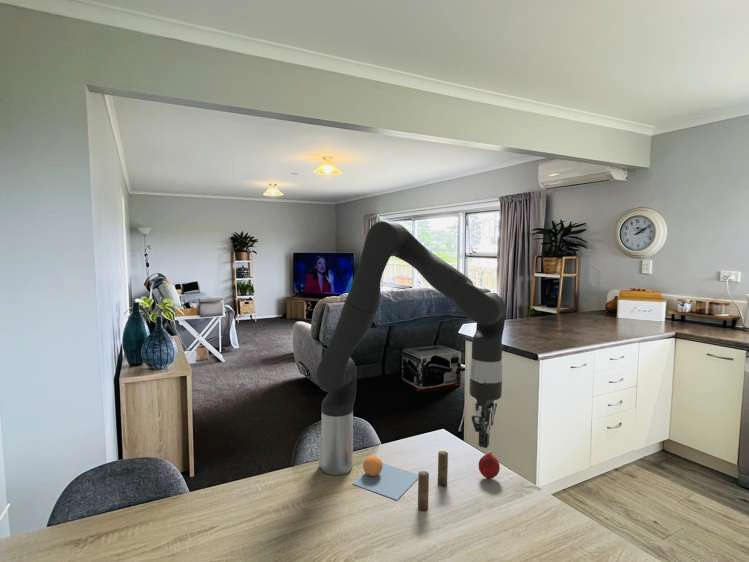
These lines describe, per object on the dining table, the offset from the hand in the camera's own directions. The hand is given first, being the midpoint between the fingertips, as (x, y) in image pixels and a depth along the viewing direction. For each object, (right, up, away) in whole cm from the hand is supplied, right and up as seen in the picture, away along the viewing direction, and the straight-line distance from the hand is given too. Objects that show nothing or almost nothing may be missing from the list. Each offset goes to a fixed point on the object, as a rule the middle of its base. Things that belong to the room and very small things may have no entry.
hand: (483, 446), depth 103 cm
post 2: (-8, -16, +13) cm, 22 cm away
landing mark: (-23, -16, +15) cm, 32 cm away
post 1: (-15, -17, +3) cm, 22 cm away
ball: (-27, -13, +18) cm, 35 cm away
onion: (+6, -16, +16) cm, 24 cm away
